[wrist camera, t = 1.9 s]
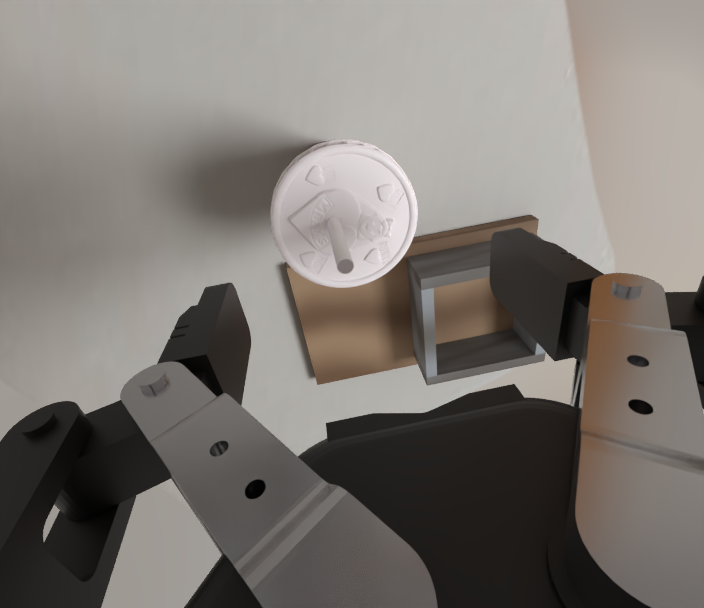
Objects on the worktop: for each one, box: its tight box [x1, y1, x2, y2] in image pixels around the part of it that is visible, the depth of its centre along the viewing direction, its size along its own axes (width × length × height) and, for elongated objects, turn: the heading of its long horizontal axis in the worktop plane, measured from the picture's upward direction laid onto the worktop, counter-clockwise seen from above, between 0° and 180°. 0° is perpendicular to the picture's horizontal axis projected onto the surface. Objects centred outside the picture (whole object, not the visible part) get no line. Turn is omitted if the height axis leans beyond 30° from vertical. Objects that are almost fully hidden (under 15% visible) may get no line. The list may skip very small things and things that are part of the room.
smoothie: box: [270, 140, 418, 288], centre depth 19 cm, size 6×6×14 cm
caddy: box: [286, 215, 546, 385], centre depth 29 cm, size 11×18×4 cm, turn 99°
